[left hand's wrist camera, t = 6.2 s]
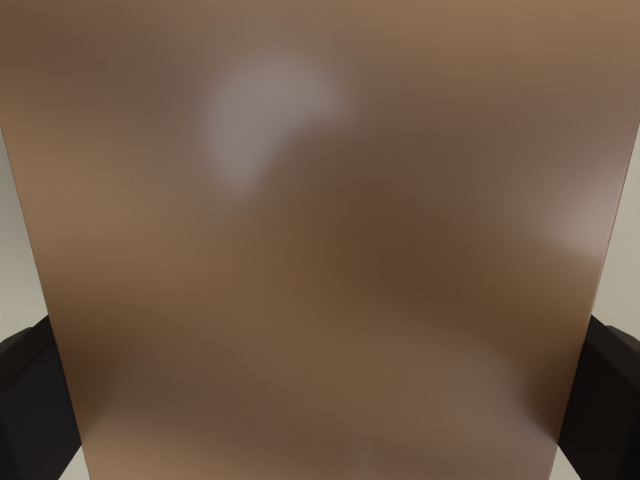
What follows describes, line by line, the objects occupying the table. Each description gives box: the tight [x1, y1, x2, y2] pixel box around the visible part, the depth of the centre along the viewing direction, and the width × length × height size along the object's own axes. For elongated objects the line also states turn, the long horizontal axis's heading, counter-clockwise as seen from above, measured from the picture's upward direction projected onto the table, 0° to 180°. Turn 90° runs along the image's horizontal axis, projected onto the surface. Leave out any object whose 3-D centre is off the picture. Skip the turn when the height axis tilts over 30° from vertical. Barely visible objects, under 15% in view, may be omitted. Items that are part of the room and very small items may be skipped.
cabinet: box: [0, 0, 640, 480], centre depth 11 cm, size 20×11×10 cm, turn 0°
